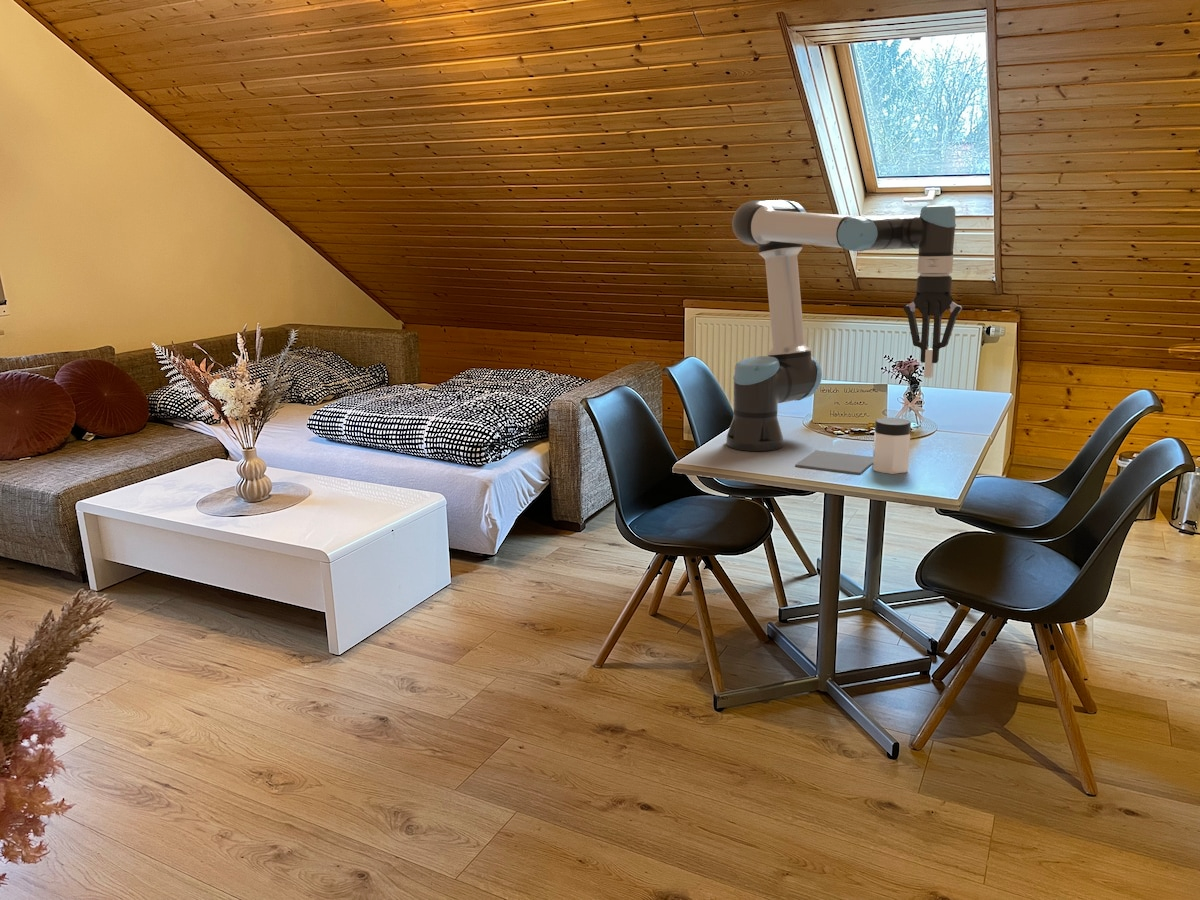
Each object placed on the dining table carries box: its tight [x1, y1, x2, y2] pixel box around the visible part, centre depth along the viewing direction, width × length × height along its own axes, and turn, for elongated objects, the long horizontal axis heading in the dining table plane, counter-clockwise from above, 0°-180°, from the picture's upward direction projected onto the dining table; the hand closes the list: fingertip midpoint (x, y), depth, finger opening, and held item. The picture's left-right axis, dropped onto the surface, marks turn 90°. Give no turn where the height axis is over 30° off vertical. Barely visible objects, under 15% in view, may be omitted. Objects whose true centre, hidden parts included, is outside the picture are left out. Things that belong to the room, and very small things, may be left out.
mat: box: [794, 449, 873, 476], centre depth 224 cm, size 16×16×1 cm
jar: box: [872, 417, 912, 475], centre depth 216 cm, size 9×8×12 cm
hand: (928, 376), depth 212 cm, fingers closed
